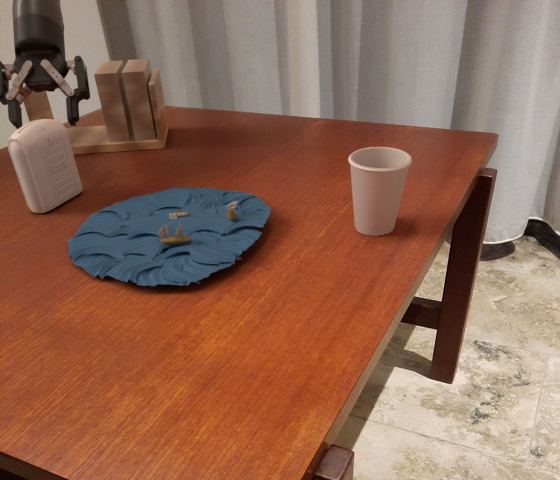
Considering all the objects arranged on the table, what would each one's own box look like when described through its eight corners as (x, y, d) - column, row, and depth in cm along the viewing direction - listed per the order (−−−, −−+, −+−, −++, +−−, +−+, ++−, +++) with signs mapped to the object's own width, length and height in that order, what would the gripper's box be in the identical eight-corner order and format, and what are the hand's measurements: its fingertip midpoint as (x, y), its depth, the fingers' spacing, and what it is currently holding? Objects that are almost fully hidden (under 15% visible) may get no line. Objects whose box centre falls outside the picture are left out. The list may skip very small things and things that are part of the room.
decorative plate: (69, 321, 67) (54, 285, 63) (71, 215, 89) (60, 183, 85) (302, 271, 71) (300, 235, 68) (249, 181, 93) (246, 150, 90)
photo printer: (67, 187, 95) (44, 111, 87) (87, 190, 94) (66, 113, 86) (25, 212, 88) (-4, 131, 80) (46, 216, 87) (18, 134, 79)
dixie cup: (335, 232, 79) (337, 162, 73) (359, 210, 84) (363, 142, 78) (390, 245, 76) (398, 173, 69) (412, 220, 81) (421, 151, 74)
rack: (40, 156, 107) (16, 80, 98) (54, 136, 116) (33, 64, 107) (164, 148, 108) (151, 71, 99) (168, 128, 117) (157, 57, 108)
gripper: (-18, 14, 85) (-13, 115, 84) (75, 8, 85) (82, 109, 84) (4, 46, 92) (10, 140, 91) (90, 41, 93) (97, 134, 92)
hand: (44, 125), depth 88 cm, fingers open, 8 cm apart
